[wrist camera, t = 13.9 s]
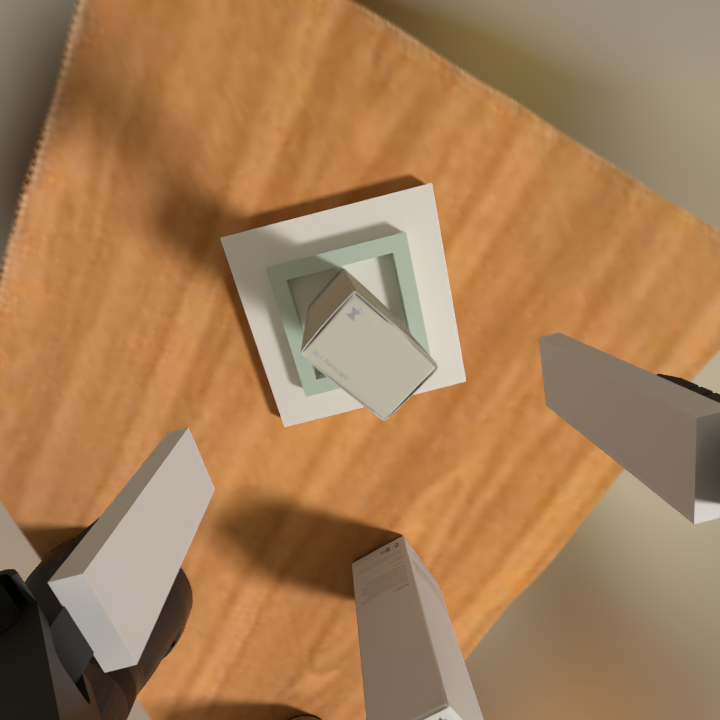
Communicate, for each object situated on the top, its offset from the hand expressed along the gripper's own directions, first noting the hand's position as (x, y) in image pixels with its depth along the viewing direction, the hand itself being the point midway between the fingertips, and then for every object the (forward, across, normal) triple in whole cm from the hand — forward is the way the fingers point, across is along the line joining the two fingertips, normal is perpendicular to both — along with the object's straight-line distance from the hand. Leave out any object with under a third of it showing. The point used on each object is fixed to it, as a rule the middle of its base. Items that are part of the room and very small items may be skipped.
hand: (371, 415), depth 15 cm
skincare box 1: (+18, +1, 0) cm, 18 cm away
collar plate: (+20, 0, 0) cm, 20 cm away
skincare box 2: (+20, -2, -28) cm, 34 cm away
